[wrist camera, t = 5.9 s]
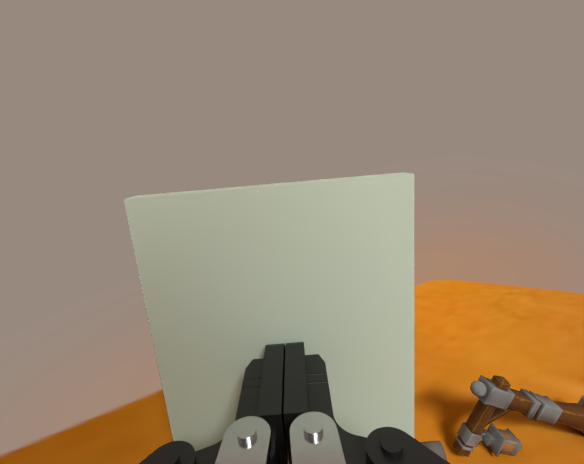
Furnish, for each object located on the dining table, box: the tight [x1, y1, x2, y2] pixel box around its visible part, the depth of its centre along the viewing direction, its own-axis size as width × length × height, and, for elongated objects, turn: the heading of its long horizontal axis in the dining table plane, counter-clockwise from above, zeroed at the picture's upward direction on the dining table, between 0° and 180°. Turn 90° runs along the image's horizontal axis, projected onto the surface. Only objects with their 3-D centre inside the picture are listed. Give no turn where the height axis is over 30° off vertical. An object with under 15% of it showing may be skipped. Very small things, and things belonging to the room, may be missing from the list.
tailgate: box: [124, 172, 414, 464], centre depth 13 cm, size 10×1×12 cm, turn 90°
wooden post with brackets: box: [453, 376, 584, 457], centre depth 17 cm, size 2×8×4 cm, turn 97°
